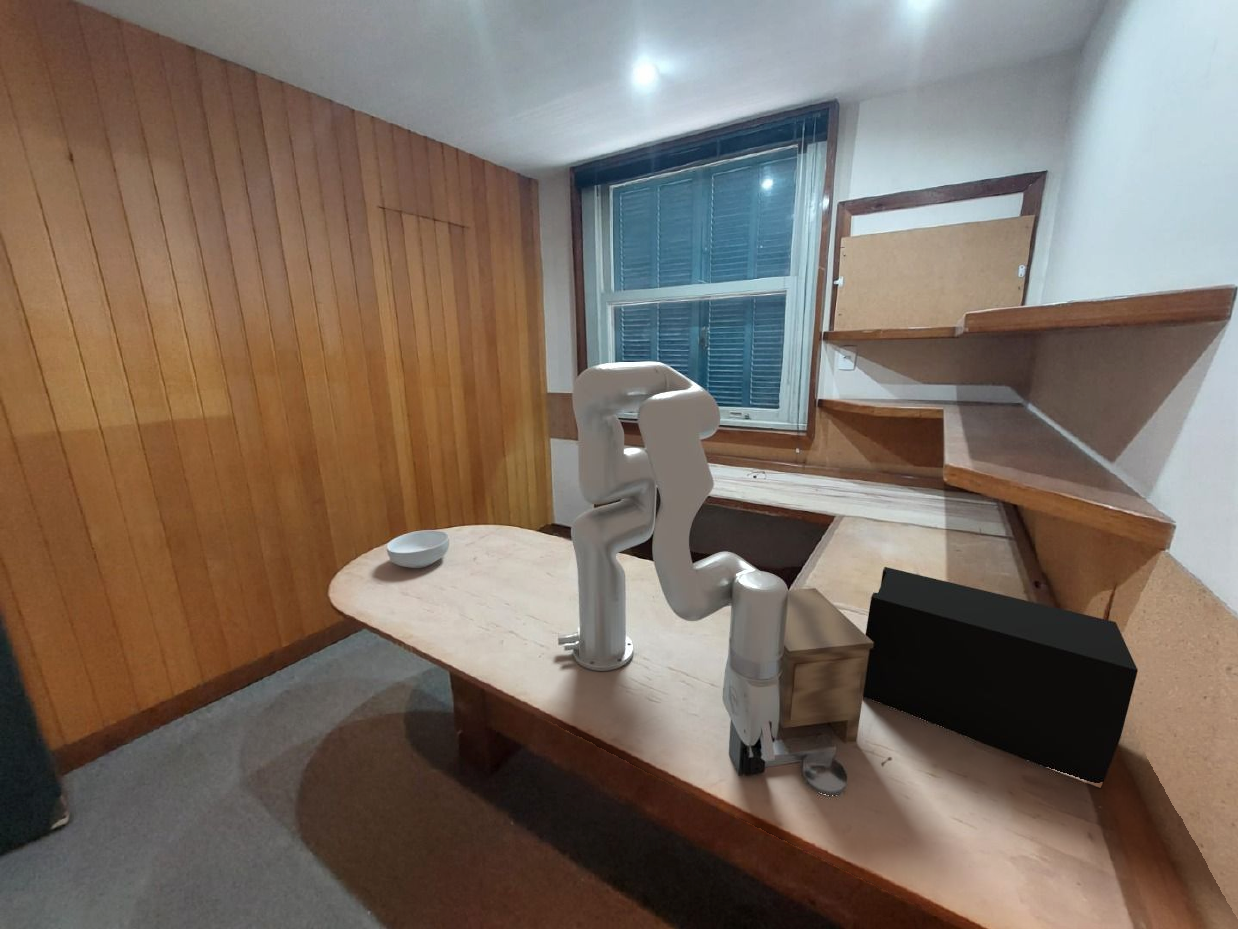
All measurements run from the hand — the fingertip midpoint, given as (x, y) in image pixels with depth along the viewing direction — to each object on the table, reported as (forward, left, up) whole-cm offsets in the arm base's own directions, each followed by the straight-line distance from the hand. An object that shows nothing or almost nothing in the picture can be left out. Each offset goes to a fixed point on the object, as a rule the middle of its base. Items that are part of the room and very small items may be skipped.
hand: (746, 758), depth 73 cm
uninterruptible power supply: (+43, +4, -1) cm, 43 cm away
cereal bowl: (-68, +80, -1) cm, 105 cm away
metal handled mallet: (+6, 0, -1) cm, 6 cm away
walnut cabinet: (+13, +9, -1) cm, 16 cm away
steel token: (+10, -4, -1) cm, 11 cm away
